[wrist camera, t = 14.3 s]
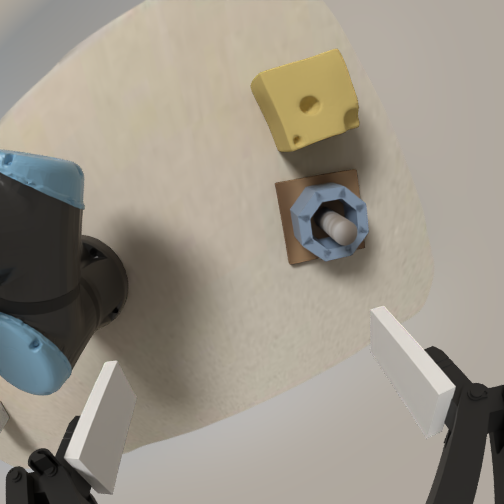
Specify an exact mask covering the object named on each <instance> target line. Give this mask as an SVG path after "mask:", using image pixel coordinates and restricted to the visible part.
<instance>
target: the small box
mask: <svg viewBox="0 0 504 504" xmlns="http://www.w3.org/2000/svg"><path fill="white" fill-rule="evenodd" d="M8 419H9V416H8V414H7V413H6V411H5V409H4V407H3V405H2V404H1V402H0V433H1V431H2V429H3V428H4V426H5V424H6V423H7V421H8Z"/></svg>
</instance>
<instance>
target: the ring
mask: <svg viewBox="0 0 504 504" xmlns="http://www.w3.org/2000/svg"><path fill="white" fill-rule="evenodd" d="M336 199H338V200H339V201H340V202H342V203H343V206H344V215H345V218H346V219H348V220H349V221H351V222H353V223H354V224H355V225H356V227H357V231H358V233H357V237H356V239H355V241H354V242H353V243H351V244H350V245H346V246H344V245H340V244H339V243H337V242H336V241H335V240H334V239H333V238H332V237H327V238H322V239H317V238H315V237H314V236H312V229H311V222H310V219H311V217H312V216H313V214H314V213H315V212H316V210H317V209H318V207H319V206H320V204H321V203H322V202H325V201H331V200H336ZM290 212H291V218H292V225H293V231H294V236H295V237H296V239H297V240H298V241H299V242H300V244H301V245H302V246H303V247H305V248H306V249H308V250H309V251H311V252H312V253H314V254H315V255H316V256H318V257H319V258H321V259H322V260H324V261H329V260H333V259H338V258H342V257H346V256H351V255H352V254H353V253H354V252H355V250H356V249H357V248H358V246H359V245H360V243H361V242H362V241H363V239H364V238H365V236H366V235H367V234H368V232H369V230H368V218H367V208H366V203H365V202H363V201H362V200H361V199H360V198H359V197H357V196H356V195H355V194H354V193H352V192H351V191H350V190H349V189H347V188H346V187H345V186H342V185H339V184H336V183H333V182H330V183H324V184H318V185H312V186H307V187H305V189H304V190H303V192H302V193H301V194H300V196H299V197H298V199H297V200H296V202H295V203H294V204H293V206H292V207H291V209H290Z"/></svg>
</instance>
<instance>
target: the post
mask: <svg viewBox="0 0 504 504" xmlns="http://www.w3.org/2000/svg"><path fill="white" fill-rule="evenodd" d="M330 182H333V183H336V184H339V185H342V186H345V187H346V188H347V189H349V190H350V191H351V192H352V193H354V194H355V195H356V196H357V197H359V198H360V193H359V185H358V177H357V170H355V169H353V170H346V171H340V172H334V173H328V174H322V175H316V176H310V177H305V178H299V179H294V180H288V181H283V182H278V183H275V187H276V192H277V198H278V203H279V209H280V214H281V220H282V226H283V231H284V237H285V243H286V249H287V255H288V261H289V264H290V265H291V264H295V263H300V262H304V261H309V260H313V259H318V258H319V257H318V256H316V255H315V254H314V253H312V252H311V251H309V250H308V249H306V248H305V247H303V246H302V245H301V244H300V242H299V241H298V240H297V239H296V237H295V236H294V231H293V225H292V218H291V212H290V209H291V207H292V206H293V204H294V203H295V202H296V200H297V199H298V197H299V196H300V194H301V193H302V192H303V190H304V189H305V187H307V186H312V185H318V184H324V183H330ZM310 222H311V229H312V236H314V237H315V238H317V239H322V238H327V237H332V238H333V239H334V240H335V241H336V242H337V243H339V244H340V245H344V246H346V245H350V244H351V243H353V242H354V241H355V239H356V237H357V233H358V231H357V227H356V225H355V224H354V223H353V222H351V221H349V220H348V219H346V218H345V215H344V206H343V203H342V202H340V201H339V200H338V199H336V200H331V201H325V202H322V203H321V204H320V206H319V207H318V209H317V210H316V212H315V213H314V214H313V216H312V217H311V219H310ZM362 248H365V242H364V239H363V241H362V242H361V243H360V245H359V246H358V248H357V249H362ZM357 249H356V250H357Z"/></svg>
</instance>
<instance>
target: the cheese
mask: <svg viewBox="0 0 504 504" xmlns="http://www.w3.org/2000/svg"><path fill="white" fill-rule="evenodd" d="M251 90H252V92H253V95H254V97H255V99H256V101H257V103H258V105H259V107H260V109H261V111H262V113H263V115H264V117H265V119H266V121H267V123H268V126H269V128H270V131H271V133H272V136H273V139H274V141H275V144H276V147H277V149H278V151H281V152H291V151H295V150H298V149H301V148H303V147H305V146H308V145H310V144H313V143H316V142H318V141H321V140H323V139H326V138H329V137H332V136H335V135H339V134H342V133H345V132H346V131H347V130H349V129H353V128H357V127H359V119H358V109H359V106H358V100H357V96H356V93H355V90H354V87H353V84H352V82H351V79H350V75H349V72H348V69H347V67H346V64H345V62H344V59H343V57H342V55H341V53H340V52H339V50H338V49H333V50H330V51H327V52H324V53H321V54H319V55H316V56H313V57H310V58H307V59H303V60H300V61H296V62H293V63H289V64H286V65H283V66H279V67H276V68H273V69H270V70H266V71H263V72H260V73H259V74H258V75H257V76H256V77H255V78H254V79H253V81H252V83H251Z"/></svg>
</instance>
